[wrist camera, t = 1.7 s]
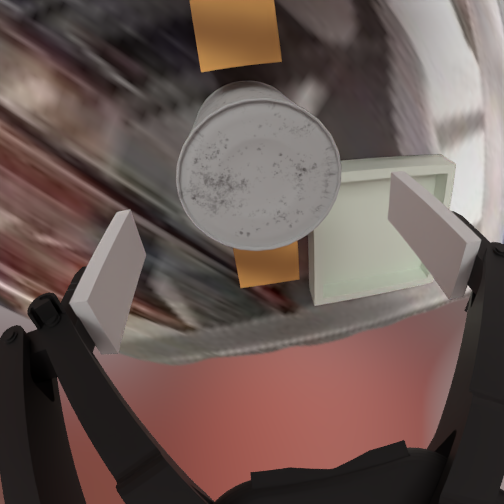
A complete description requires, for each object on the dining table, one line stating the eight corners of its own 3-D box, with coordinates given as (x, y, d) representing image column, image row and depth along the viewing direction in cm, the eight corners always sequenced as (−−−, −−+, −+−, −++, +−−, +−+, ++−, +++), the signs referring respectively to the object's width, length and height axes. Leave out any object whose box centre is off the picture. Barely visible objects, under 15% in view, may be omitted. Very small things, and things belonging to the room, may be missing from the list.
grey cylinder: (224, 62, 24) (223, 66, 14) (317, 111, 27) (371, 151, 17) (177, 154, 29) (151, 216, 19) (267, 194, 32) (288, 270, 22)
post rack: (198, 14, 21) (189, 0, 15) (260, 6, 21) (272, -10, 15) (237, 241, 35) (240, 288, 29) (285, 233, 35) (299, 279, 29)
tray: (304, 164, 30) (311, 175, 28) (440, 154, 30) (456, 164, 28) (309, 289, 40) (314, 305, 37) (422, 268, 39) (432, 282, 37)
